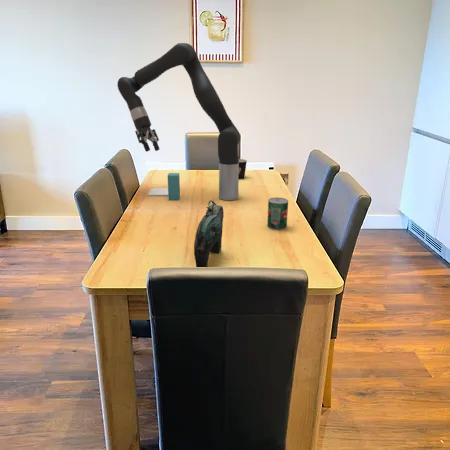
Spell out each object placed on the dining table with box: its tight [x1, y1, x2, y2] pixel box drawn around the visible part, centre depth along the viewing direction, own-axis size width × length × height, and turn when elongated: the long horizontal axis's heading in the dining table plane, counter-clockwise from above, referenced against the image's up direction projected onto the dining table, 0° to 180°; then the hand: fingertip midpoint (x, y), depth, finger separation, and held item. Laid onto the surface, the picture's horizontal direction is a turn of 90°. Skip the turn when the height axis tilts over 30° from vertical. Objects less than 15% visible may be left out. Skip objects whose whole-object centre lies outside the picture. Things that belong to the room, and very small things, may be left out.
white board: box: [148, 187, 168, 197], centre depth 223 cm, size 12×12×1 cm
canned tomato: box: [266, 196, 289, 231], centre depth 177 cm, size 8×8×11 cm
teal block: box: [167, 172, 181, 201], centre depth 212 cm, size 5×5×12 cm
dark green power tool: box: [193, 199, 225, 268], centre depth 146 cm, size 20×6×20 cm, turn 163°
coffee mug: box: [238, 158, 248, 180], centre depth 252 cm, size 12×9×10 cm
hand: (153, 150), depth 212 cm, fingers open, 8 cm apart
